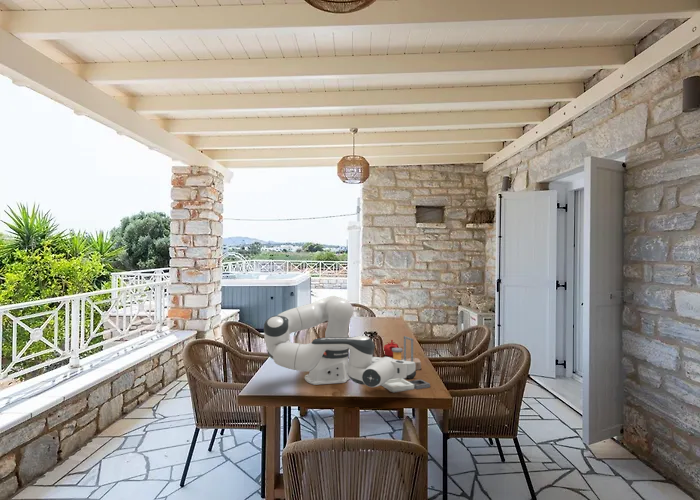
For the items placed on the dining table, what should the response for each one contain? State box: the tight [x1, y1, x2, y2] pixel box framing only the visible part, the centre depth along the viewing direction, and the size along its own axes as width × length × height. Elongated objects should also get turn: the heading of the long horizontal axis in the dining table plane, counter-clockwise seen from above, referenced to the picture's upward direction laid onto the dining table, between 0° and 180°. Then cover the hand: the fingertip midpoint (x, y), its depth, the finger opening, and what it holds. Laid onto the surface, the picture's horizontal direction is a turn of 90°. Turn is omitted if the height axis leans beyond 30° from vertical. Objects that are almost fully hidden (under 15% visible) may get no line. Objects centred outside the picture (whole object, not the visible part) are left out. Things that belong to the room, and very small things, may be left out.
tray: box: [380, 378, 415, 393], centre depth 179 cm, size 11×11×2 cm
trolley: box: [403, 335, 417, 380], centre depth 193 cm, size 13×9×19 cm
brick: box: [402, 357, 422, 371], centre depth 210 cm, size 17×8×5 cm, turn 89°
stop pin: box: [392, 347, 404, 360], centre depth 178 cm, size 5×5×12 cm
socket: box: [407, 378, 431, 390], centre depth 181 cm, size 7×7×2 cm
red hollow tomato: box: [383, 339, 400, 358], centre depth 236 cm, size 10×10×9 cm
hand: (398, 360), depth 179 cm, fingers closed on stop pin, 4 cm apart
